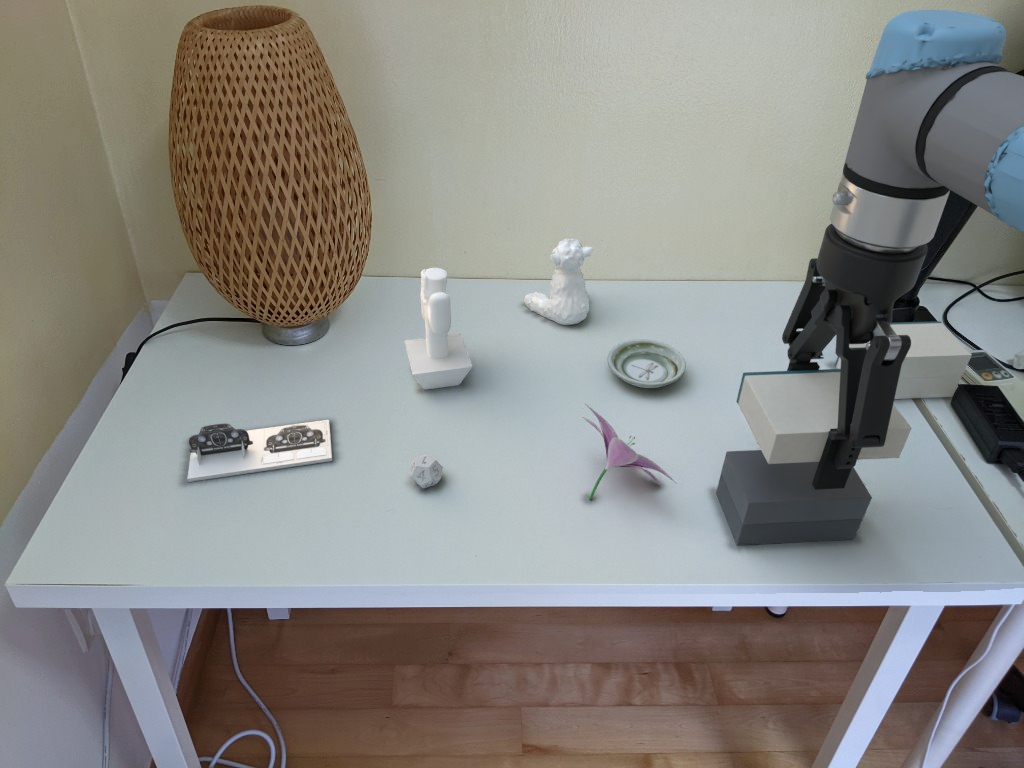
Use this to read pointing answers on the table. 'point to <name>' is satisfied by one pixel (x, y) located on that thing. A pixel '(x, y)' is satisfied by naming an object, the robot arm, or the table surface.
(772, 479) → the grey box
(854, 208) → the robot arm
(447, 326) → the figurine
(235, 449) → the car cutout
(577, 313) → the sitting furry creature
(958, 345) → the white rectangular block
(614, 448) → the lily
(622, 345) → the saucer
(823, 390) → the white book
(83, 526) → the table surface
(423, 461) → the game die
